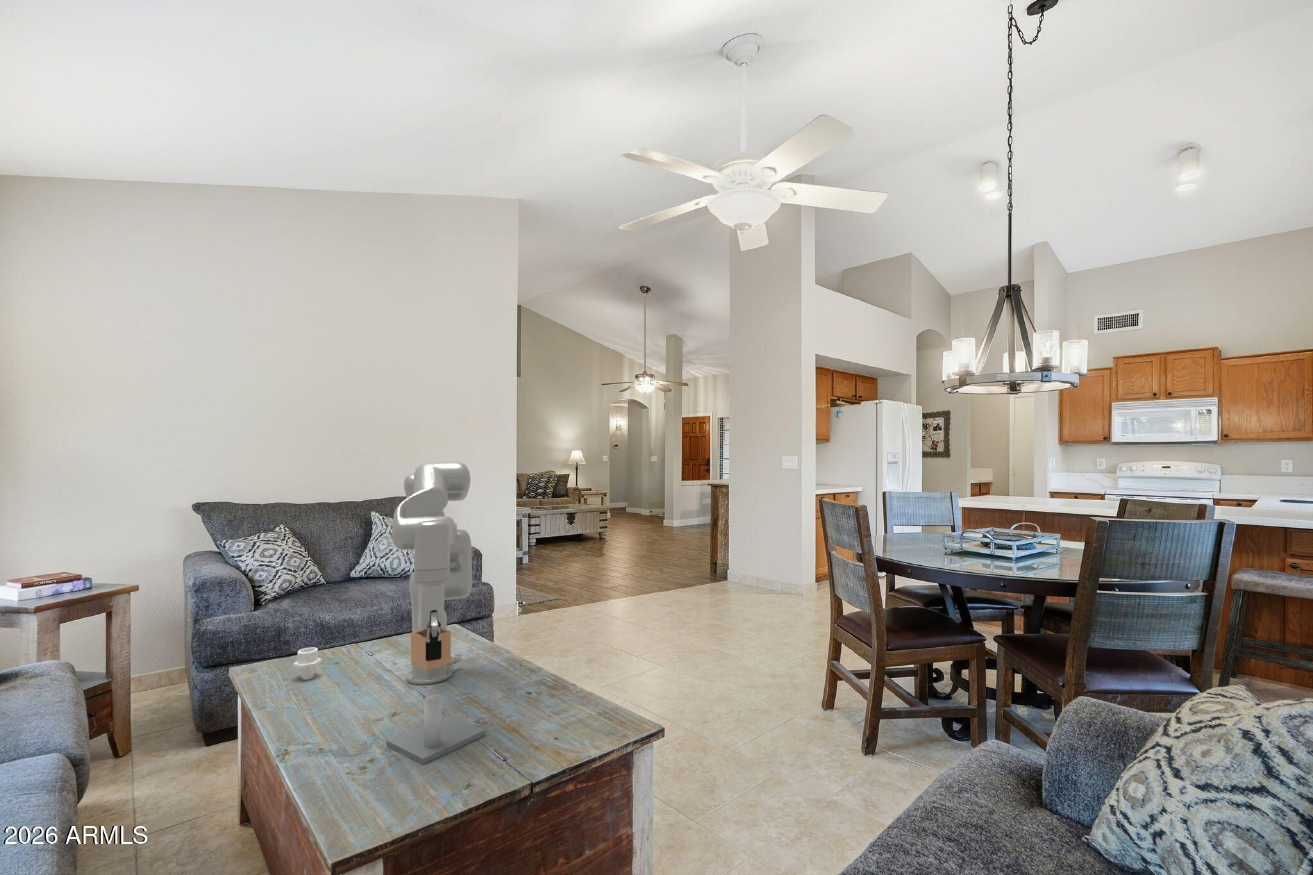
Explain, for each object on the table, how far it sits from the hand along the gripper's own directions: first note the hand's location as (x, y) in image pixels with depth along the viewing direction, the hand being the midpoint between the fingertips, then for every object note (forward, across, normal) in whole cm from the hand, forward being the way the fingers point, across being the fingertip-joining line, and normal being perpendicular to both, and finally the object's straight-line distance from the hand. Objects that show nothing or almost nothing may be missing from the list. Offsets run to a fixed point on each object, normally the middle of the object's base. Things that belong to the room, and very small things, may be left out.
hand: (432, 653), depth 136 cm
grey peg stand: (+21, -3, +1) cm, 21 cm away
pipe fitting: (+20, -60, -31) cm, 70 cm away
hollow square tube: (+2, 0, 0) cm, 2 cm away
